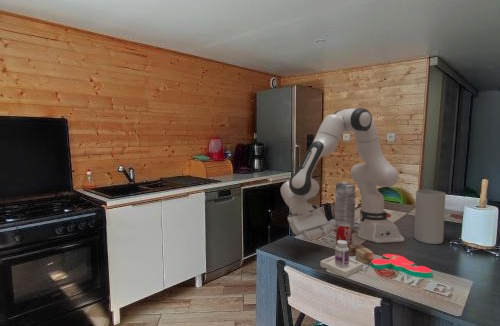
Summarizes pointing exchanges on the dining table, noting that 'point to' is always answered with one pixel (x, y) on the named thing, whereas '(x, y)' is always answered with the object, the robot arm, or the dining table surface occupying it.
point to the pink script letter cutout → (401, 265)
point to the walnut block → (354, 249)
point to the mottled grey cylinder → (345, 203)
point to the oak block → (364, 255)
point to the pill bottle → (341, 254)
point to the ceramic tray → (342, 271)
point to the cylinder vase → (429, 216)
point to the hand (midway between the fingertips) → (318, 238)
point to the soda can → (344, 233)
